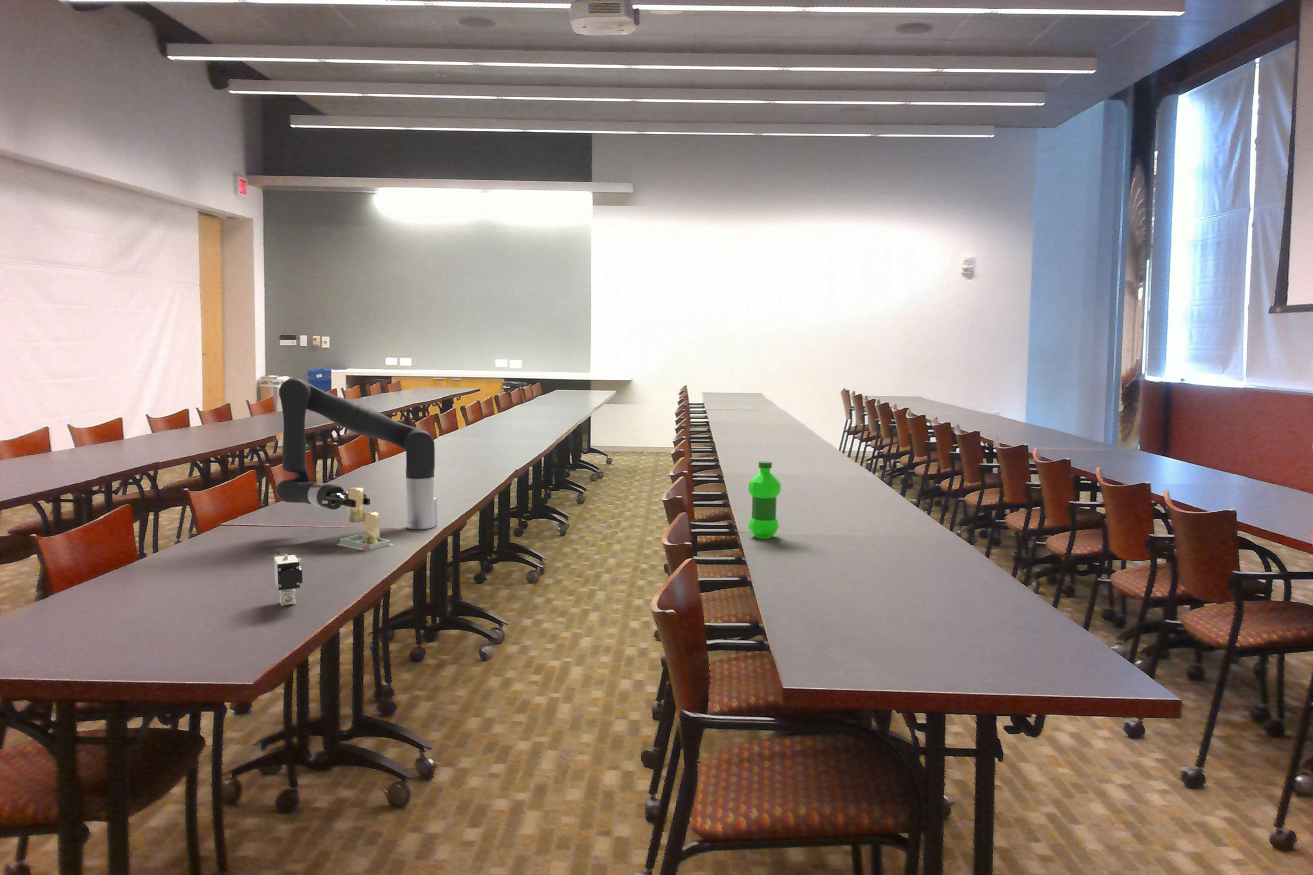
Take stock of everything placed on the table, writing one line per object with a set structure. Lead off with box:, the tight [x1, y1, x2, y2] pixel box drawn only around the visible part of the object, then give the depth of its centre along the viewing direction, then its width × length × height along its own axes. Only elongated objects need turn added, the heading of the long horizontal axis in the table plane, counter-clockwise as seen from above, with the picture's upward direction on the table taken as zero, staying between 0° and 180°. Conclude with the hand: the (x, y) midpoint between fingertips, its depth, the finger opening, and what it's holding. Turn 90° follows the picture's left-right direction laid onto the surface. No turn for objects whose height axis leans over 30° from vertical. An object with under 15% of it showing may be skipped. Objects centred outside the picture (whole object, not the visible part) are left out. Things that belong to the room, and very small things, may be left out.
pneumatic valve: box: [273, 553, 303, 607], centre depth 205 cm, size 6×12×12 cm, turn 29°
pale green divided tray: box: [336, 534, 394, 552], centre depth 260 cm, size 10×14×3 cm
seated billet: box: [363, 511, 381, 544], centre depth 257 cm, size 4×4×10 cm
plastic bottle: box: [748, 460, 782, 540], centre depth 281 cm, size 10×10×25 cm
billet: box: [347, 486, 365, 524], centre depth 260 cm, size 4×4×10 cm
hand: (362, 502), depth 258 cm, fingers closed on billet, 4 cm apart
